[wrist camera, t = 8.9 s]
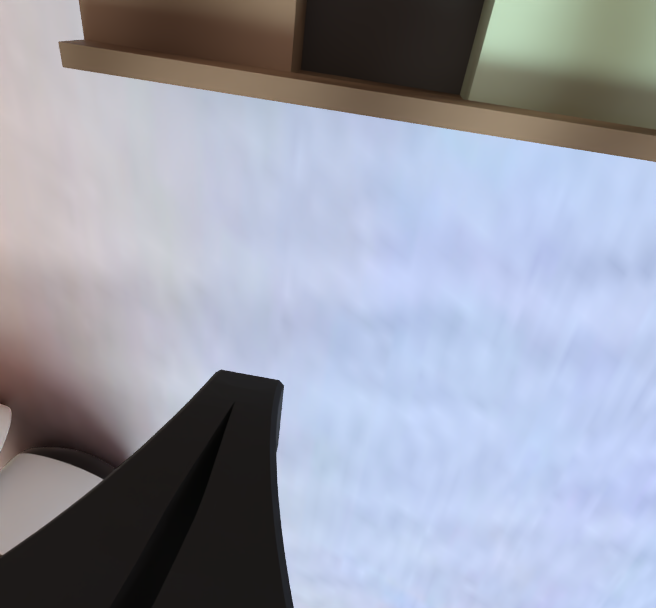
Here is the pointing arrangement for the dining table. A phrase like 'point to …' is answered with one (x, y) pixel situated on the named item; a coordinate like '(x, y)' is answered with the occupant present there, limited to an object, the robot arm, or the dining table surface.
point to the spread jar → (41, 485)
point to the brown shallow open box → (403, 60)
